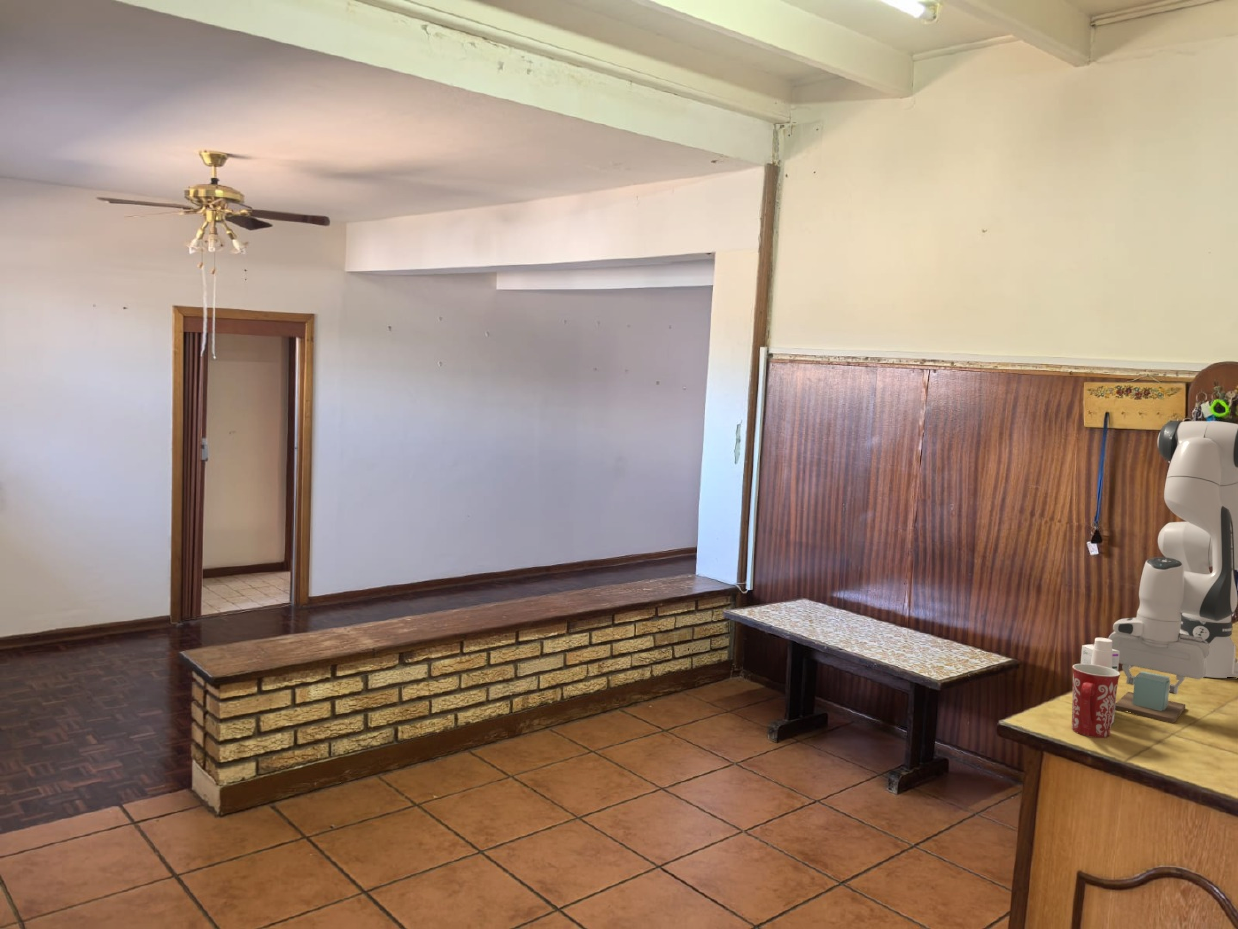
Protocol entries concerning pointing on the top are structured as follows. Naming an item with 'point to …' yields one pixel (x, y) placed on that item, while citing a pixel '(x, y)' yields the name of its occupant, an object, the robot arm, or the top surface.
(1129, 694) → the post board
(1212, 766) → the top surface
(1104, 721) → the mug
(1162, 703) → the pale teal box
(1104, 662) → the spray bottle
